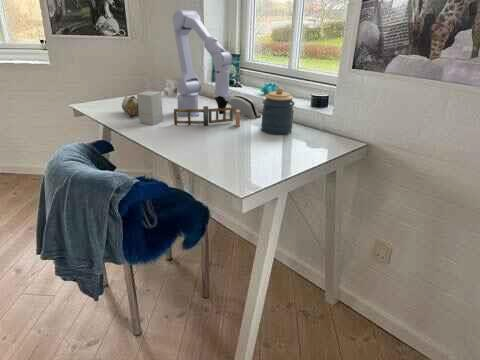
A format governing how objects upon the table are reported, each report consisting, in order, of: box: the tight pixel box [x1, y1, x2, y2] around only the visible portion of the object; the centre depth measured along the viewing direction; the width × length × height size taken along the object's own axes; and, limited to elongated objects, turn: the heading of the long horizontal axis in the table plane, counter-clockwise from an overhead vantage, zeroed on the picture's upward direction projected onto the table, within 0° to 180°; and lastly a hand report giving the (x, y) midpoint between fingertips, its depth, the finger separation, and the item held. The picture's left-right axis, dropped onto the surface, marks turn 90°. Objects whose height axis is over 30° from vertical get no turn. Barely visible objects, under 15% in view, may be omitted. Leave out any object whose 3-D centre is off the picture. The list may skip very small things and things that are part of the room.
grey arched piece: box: [229, 94, 262, 120], centre depth 168 cm, size 17×5×10 cm, turn 38°
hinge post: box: [202, 105, 209, 127], centre depth 150 cm, size 2×2×8 cm
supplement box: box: [136, 90, 164, 126], centre depth 151 cm, size 7×7×13 cm
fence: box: [173, 108, 204, 126], centre depth 150 cm, size 12×1×7 cm, turn 94°
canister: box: [260, 87, 296, 136], centre depth 145 cm, size 13×13×18 cm
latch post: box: [235, 110, 241, 128], centre depth 152 cm, size 2×4×6 cm, turn 4°
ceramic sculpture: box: [121, 95, 139, 117], centre depth 162 cm, size 11×9×15 cm
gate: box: [208, 106, 234, 124], centre depth 153 cm, size 11×1×6 cm, turn 116°
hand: (221, 113), depth 155 cm, fingers closed
